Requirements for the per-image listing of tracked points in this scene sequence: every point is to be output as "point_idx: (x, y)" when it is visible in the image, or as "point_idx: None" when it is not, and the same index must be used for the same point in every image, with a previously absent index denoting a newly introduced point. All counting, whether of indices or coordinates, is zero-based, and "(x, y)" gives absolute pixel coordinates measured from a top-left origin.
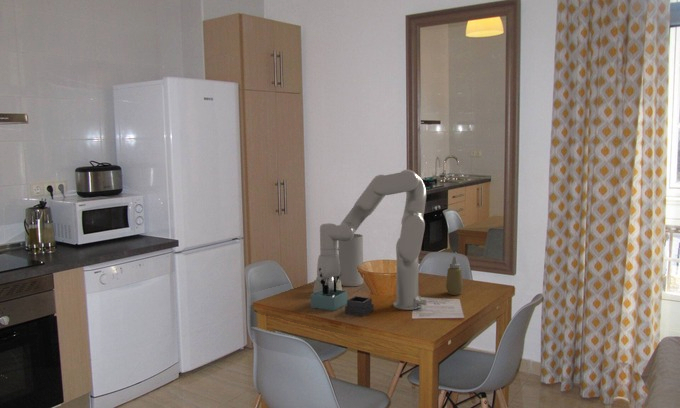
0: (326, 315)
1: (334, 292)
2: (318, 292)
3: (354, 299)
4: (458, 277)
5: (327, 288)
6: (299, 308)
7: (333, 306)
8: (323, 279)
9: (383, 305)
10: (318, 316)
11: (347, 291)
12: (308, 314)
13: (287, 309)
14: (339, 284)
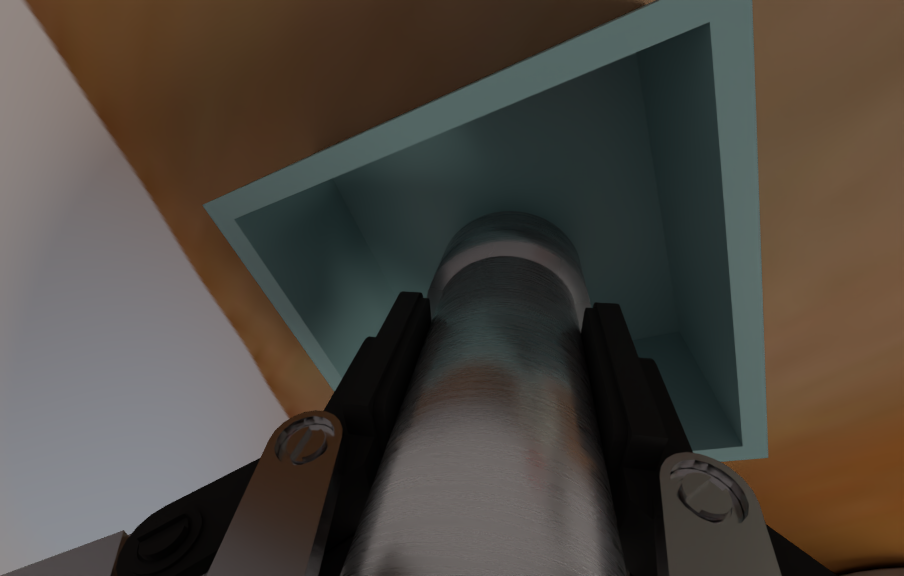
0: (330, 395)
1: (705, 248)
2: (408, 144)
3: None
4: None
5: None
6: (189, 83)
7: None
8: (284, 566)
9: (833, 526)
10: (272, 374)
11: (757, 454)
12: (220, 298)
13: (48, 12)
14: None
